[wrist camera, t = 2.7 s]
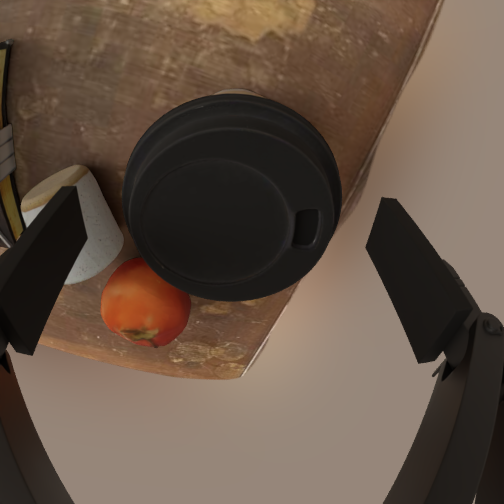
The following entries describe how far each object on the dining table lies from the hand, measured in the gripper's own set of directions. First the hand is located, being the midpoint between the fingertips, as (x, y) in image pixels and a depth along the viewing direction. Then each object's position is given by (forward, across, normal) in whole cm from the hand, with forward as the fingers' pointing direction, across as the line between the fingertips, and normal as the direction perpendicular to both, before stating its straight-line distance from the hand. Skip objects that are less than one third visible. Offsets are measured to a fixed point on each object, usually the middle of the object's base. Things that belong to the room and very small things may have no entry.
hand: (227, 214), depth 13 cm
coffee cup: (+14, 0, 0) cm, 14 cm away
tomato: (+14, -8, -17) cm, 23 cm away
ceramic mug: (+14, -15, -8) cm, 22 cm away
